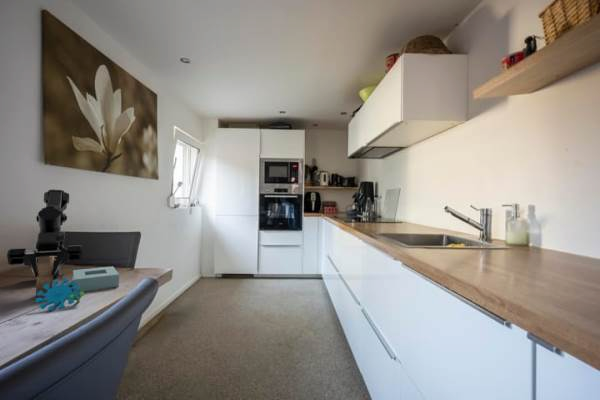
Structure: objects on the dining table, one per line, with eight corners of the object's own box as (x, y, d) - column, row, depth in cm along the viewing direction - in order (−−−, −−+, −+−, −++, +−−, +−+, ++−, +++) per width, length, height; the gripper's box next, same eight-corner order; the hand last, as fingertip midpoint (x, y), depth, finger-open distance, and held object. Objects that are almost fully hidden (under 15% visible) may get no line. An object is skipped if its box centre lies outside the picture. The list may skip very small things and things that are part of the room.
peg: (40, 293, 92) (42, 255, 92) (54, 292, 93) (56, 255, 93) (32, 297, 88) (35, 258, 88) (47, 296, 89) (50, 258, 89)
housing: (72, 281, 106) (72, 270, 106) (112, 277, 114) (113, 266, 114) (73, 292, 94) (74, 279, 94) (118, 286, 102) (119, 274, 102)
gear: (27, 308, 75) (45, 276, 83) (31, 317, 79) (49, 286, 86) (75, 309, 79) (89, 278, 86) (77, 318, 83) (91, 288, 90)
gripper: (10, 223, 88) (0, 264, 79) (83, 223, 100) (82, 258, 91) (12, 244, 94) (4, 285, 85) (82, 242, 106) (80, 276, 97)
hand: (44, 275), depth 90 cm, fingers closed on peg, 4 cm apart
